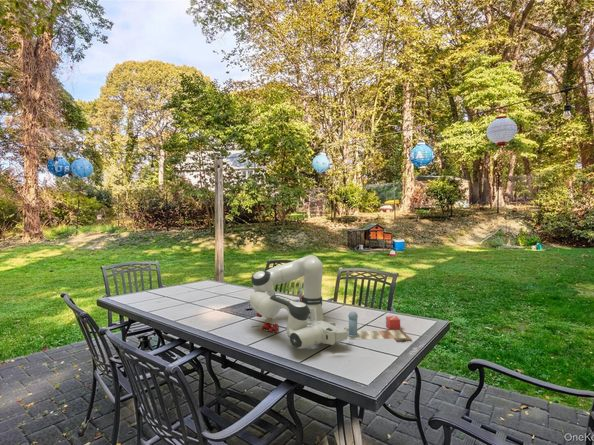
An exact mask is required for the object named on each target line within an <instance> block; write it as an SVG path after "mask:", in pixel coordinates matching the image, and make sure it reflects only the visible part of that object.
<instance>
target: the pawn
mask: <svg viewBox="0 0 594 445" xmlns="http://www.w3.org/2000/svg"><path fill="white" fill-rule="evenodd" d="M347 317H348V328H349V333H348V336H349V337H358V336H359V335H358V333H357V331H358V313H357V312H356V311H349V313H348V316H347ZM349 337H348V338H349Z"/></svg>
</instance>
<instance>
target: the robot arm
mask: <svg viewBox="0 0 594 445" xmlns="http://www.w3.org/2000/svg"><path fill="white" fill-rule="evenodd" d="M323 268H324V264H323V262H322V261H321V260H320V259H319V258H318V256H316V255H314V254H308V255H305V256H303V257H300V258H298V259H296V260H293V261H289V262H286V263H283V264H280V265H276V266H273V267H271V268H269V269H267V270H257V271H255V272H254V273H253V274H252V275H251V284H252V287H253V292H252V294H251V295H250V296H249V304H250V306H251V307H252V308H253V309H254V310H255V312H256V313H259V314H260V315H262V318H265V319H267V318H272V319H273V317H276V316H277V315H278V314H279V312H280V310H281V308H284V309H286V310H287V309H288V315H287V324H286V335H287V336H288V338H289V341H290V344H291V346H292V347H293V348H295V349H306V348H309V347H313V346H314V345H319V344H325V345H326V344H327V345H330V346H333V345H335V344H336V343H340V342H344V341H345V340H346V341H347V339H349V337H348V332H349V327H344V328H341V327H339V326H336V323H335V322H327V321H325V320H324V319H325V318H324V312H323V296H322V285H323V284H322V282H323V271H324V269H323ZM301 277H303V296H302V295H299V296H298V299H300V302H298V301H294V300H295V299H292V298H288V297H286V296H283V295H279V294H276V292H275V289H274V286H275V285H281V284H284V283H285V284H286V283H289V282H291V281H297V279H300V278H301ZM308 325H309V326H308Z"/></svg>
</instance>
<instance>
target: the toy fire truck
mask: <svg viewBox="0 0 594 445" xmlns="http://www.w3.org/2000/svg"><path fill="white" fill-rule="evenodd" d="M256 317H257V318H263V316H262V315H260V314H259V313H258V312H256ZM272 319H273V317H272V318H266V320H265V322H264V324H263V325H262V326H261V330H263V331H264V332H265V331H266V332H267V333H268V332H271V333H273V334H277V333H279V332H280V327H279V326H280V325H279V324H278V323H277V322H275V323H274V324H272V323H270V322H271V320H272Z"/></svg>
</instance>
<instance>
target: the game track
mask: <svg viewBox="0 0 594 445" xmlns="http://www.w3.org/2000/svg"><path fill="white" fill-rule="evenodd" d="M348 333H349V332H348ZM357 333H358V337H349V336H348V339H349V341H352V340H356V341H357V340H386V339H387V340H388V339H390V340H391V339H392V340H394V341H395V342H396V343H407V342H406V341H413V340H412V338H411V337H410V336H409V335H408V334H407V333H406V332H405V331H404V330H403V329H401V328H400V330H389V329H386V330H367V331H366V330H361V331H359V330H357Z"/></svg>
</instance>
